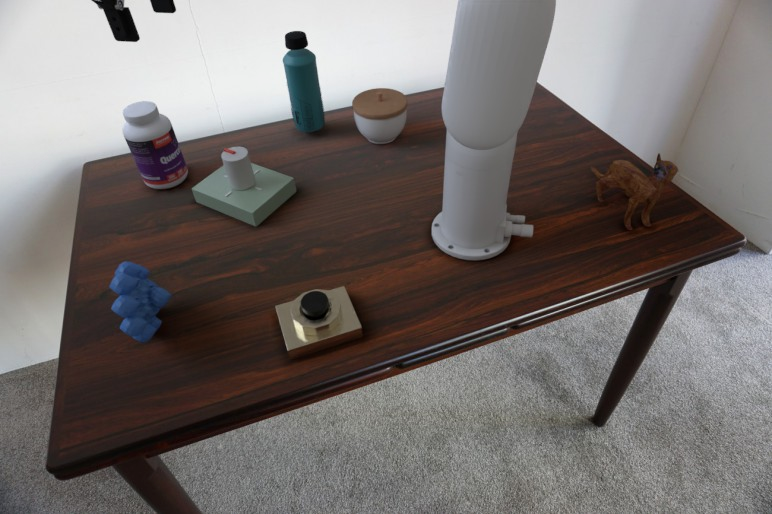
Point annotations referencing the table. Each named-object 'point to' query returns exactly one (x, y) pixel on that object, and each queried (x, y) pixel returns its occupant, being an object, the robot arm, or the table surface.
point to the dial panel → (245, 194)
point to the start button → (315, 305)
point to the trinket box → (380, 114)
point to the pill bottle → (154, 145)
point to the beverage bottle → (303, 83)
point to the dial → (238, 168)
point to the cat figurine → (636, 185)
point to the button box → (318, 324)
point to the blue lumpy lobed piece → (137, 301)
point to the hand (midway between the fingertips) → (147, 25)
